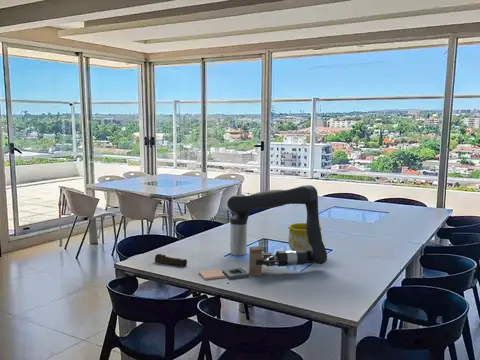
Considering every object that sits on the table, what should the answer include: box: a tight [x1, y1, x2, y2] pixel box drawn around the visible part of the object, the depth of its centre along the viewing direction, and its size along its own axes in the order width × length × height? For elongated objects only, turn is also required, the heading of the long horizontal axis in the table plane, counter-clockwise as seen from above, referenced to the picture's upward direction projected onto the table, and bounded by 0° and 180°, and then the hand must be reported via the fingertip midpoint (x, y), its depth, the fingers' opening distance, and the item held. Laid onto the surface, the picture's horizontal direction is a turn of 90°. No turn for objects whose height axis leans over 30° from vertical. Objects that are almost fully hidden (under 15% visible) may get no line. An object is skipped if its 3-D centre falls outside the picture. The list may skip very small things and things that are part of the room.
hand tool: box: [154, 253, 188, 268], centre depth 235 cm, size 19×4×5 cm, turn 62°
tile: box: [198, 268, 226, 281], centre depth 218 cm, size 10×10×1 cm
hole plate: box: [221, 267, 250, 280], centre depth 219 cm, size 10×10×2 cm
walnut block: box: [248, 245, 263, 277], centre depth 220 cm, size 5×5×13 cm
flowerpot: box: [287, 222, 322, 251], centre depth 252 cm, size 18×18×16 cm
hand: (254, 260), depth 219 cm, fingers open, 8 cm apart
